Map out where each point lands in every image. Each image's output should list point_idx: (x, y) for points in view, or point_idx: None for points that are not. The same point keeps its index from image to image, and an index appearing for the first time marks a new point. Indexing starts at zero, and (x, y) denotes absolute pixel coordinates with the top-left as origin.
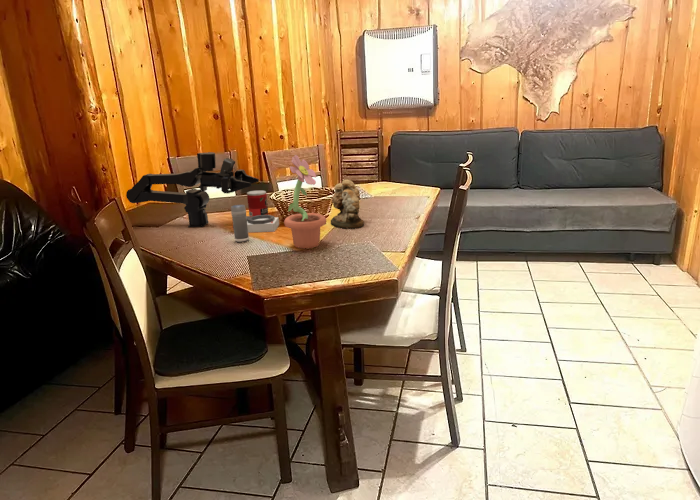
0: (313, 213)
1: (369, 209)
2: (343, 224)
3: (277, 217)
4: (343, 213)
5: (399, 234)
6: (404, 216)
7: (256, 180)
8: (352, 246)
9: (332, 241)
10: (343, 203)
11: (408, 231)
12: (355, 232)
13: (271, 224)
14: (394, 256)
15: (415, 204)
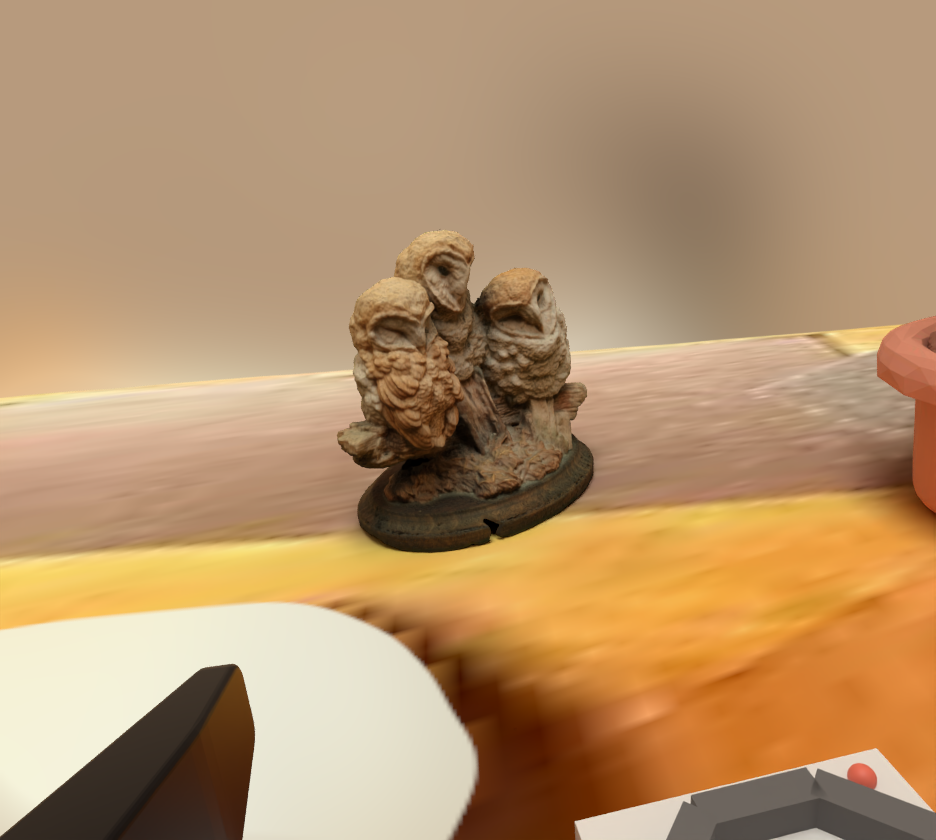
0: (910, 342)
1: (149, 491)
2: (580, 460)
3: (592, 827)
4: (488, 437)
5: (622, 366)
6: (346, 396)
7: (233, 752)
8: (857, 404)
9: (839, 457)
10: (555, 348)
11: (575, 361)
12: (643, 438)
13: (895, 777)
14: (875, 337)
15: (127, 408)
